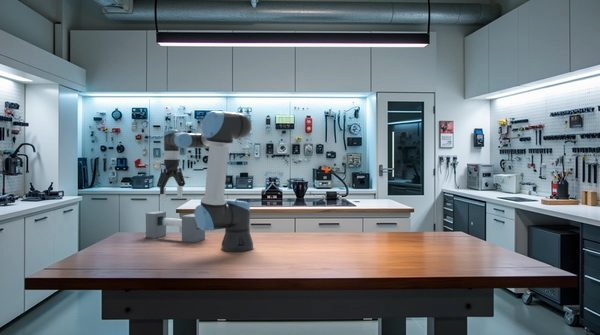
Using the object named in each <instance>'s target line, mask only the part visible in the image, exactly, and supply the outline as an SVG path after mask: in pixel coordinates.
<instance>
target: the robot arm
mask: <svg viewBox="0 0 600 335" xmlns="http://www.w3.org/2000/svg"><path fill="white" fill-rule="evenodd" d="M201 131H202V132H201V133H189V132H188V133H187V132H179V130H178V129H165V130H163V158H164V160H163V166H164V167H165V168H161V169H160V175H159V178H158V181H157V184H156V187H157V188H158V189H159V194H160V201H166V200H167V194H166V191H167V190H166V185H167V183H168V181H169V180H170V179H171V178H172V177H173V179H174V180H175V182H176V184H177V186H176V189H177V190H176V192H177V194H176V195H177V196H176V198H177V199H182V198H183V187H184V186H185V185H186V181H185V177H184V175H183V171H182V170H183V169H182V168H181V167H179V166H180V161H179V159H180V149H183V148H184V149H185V148H187V149H208V153H207V154H208V156H207V167H206V177H205V178H206V179H205V187H204V189H205V190H204V197H202V198H201V200H200V204H199V205H197V206H196V207H195V209H194V211H193V214H194V216H195V221H196V223H197V225H198V227H199V228H200V229H201V230H203V231H205V232H206V231H210V232H211V231H215V230H222V229H223V230H224V229H225V230H224V234H223V238H222V241H221V250H222V251H226V252H231V253H232V252H235V253H236V252H237V253H238V252H246V251H251V250H253V249H254V242H253V238H252V235H251V229H250V228H251V226H250V223H251V221H250V218H251V217H250V216H251V214H250V212H251V209H250V203H249V202H248V201H246V200H245V201H244V200H237V199H236V200H235V199H225V191H226V190H225V189H226V179H227V170H228V169H227V168H228V160H229V158H228V157H229V147H230V146H232V144H233V141H234V140H240V139H244V138H246V137H247V136H249V134H251V131H252V122H251V120H250V119H249V117H248V116H247V115H245V114H244V113H242V112H232V111H222V110H212V111H208V112H207V113H206V115H204V117H203V120H202V123H201Z"/></svg>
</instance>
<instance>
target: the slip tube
mask: <svg viewBox="0 0 600 335" xmlns="http://www.w3.org/2000/svg"><path fill="white" fill-rule="evenodd" d="M162 224H163V225H164V226H166V227H167V226H169V227H170V226H171V227H181V228H182V218H174V217H173V218H172V217H171V218H170V217H167V216H166V217H165V218H163V220H162ZM197 228H199V227H198V225H197Z"/></svg>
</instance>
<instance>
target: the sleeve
mask: <svg viewBox="0 0 600 335" xmlns="http://www.w3.org/2000/svg"><path fill="white" fill-rule="evenodd" d="M181 219H182V227H181V241H182V242H188V243H197V242H200V241H204V240H205V239H206V231H203V230H201V229H200V228H197V223H196V221H195V216H194V213H191V214H185V215H181Z"/></svg>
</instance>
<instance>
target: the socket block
mask: <svg viewBox="0 0 600 335" xmlns="http://www.w3.org/2000/svg"><path fill="white" fill-rule="evenodd" d="M165 217H166V218H167V212H166V211H160V210H159V211H158V210H157V211H152V212H147V213H146V212H145V237H146V238H147V239H157V238H160V237H164V236H166V235H167V225H166V226H164V225H163V224H162V220H163V218H165Z"/></svg>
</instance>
